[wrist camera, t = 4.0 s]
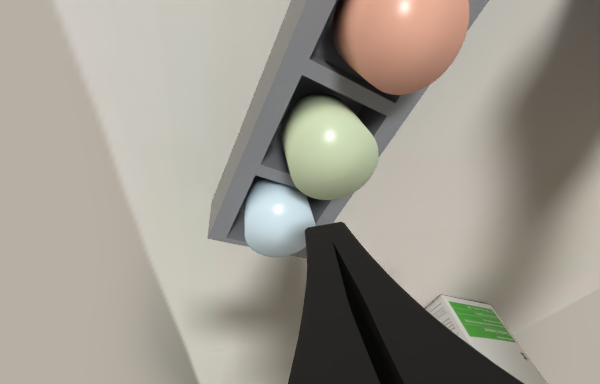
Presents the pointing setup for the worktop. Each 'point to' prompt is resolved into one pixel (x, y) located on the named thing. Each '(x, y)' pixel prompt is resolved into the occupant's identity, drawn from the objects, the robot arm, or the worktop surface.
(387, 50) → the terracotta button
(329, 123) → the sage button
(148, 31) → the worktop surface
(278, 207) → the blue button
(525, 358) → the skincare box
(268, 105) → the console
